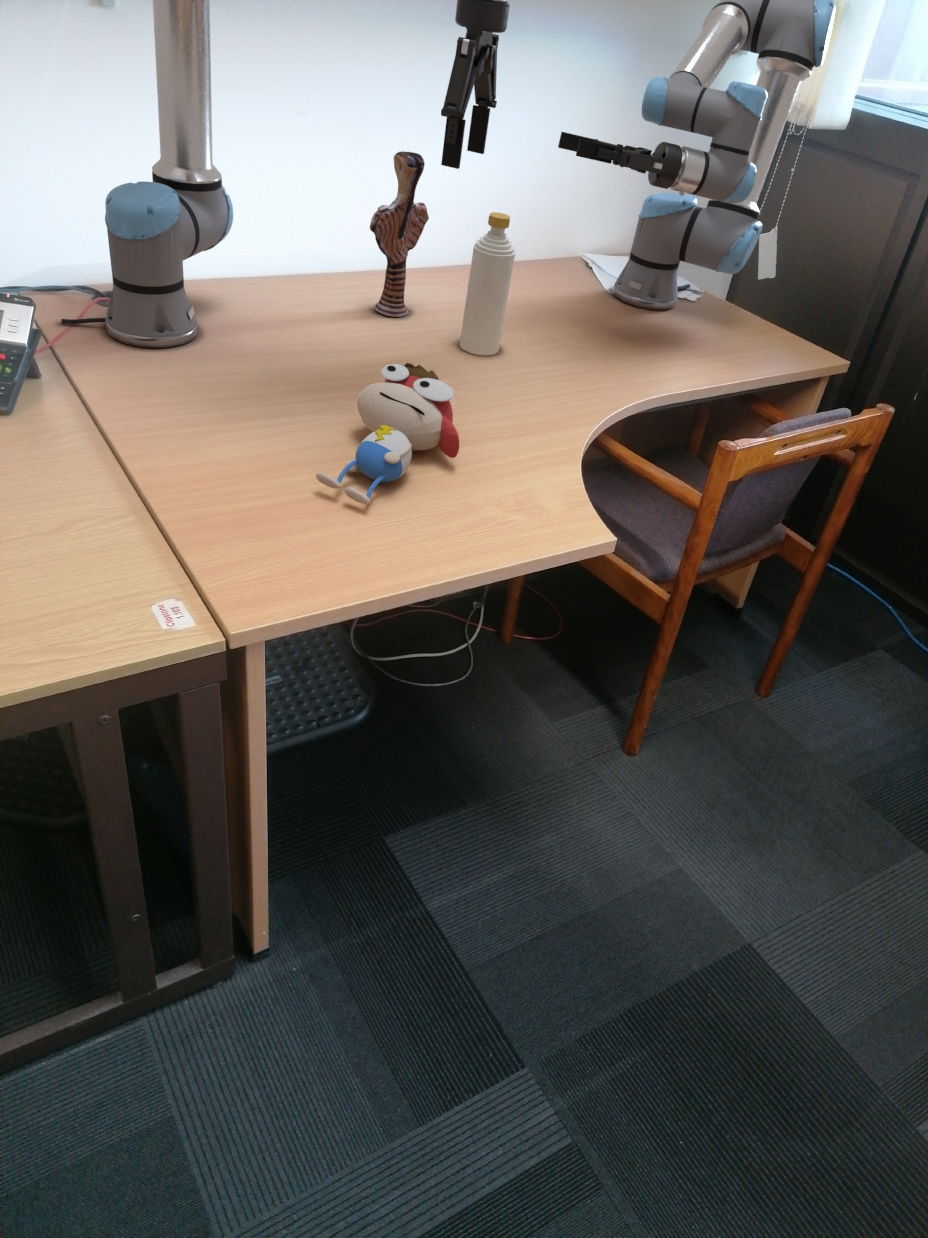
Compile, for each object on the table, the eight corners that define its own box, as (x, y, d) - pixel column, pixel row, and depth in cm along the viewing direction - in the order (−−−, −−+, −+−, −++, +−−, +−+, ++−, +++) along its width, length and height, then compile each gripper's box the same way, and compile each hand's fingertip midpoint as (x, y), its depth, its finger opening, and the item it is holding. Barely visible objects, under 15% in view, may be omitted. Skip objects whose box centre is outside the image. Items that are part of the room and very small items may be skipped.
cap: (511, 229, 159) (513, 219, 158) (491, 227, 158) (493, 217, 157) (504, 222, 162) (506, 212, 161) (485, 221, 160) (486, 211, 159)
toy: (278, 428, 121) (396, 343, 140) (277, 485, 128) (389, 398, 148) (391, 486, 117) (497, 391, 136) (384, 542, 124) (485, 444, 143)
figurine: (401, 297, 189) (416, 141, 170) (429, 309, 186) (448, 152, 167) (355, 312, 178) (365, 148, 160) (384, 324, 175) (398, 159, 157)
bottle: (503, 355, 172) (526, 225, 157) (466, 355, 170) (486, 223, 155) (491, 339, 178) (512, 212, 163) (454, 338, 175) (472, 209, 160)
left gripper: (485, 3, 116) (463, 178, 129) (530, -3, 135) (506, 151, 148) (431, -8, 117) (414, 167, 130) (483, -12, 136) (463, 141, 149)
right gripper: (691, 199, 159) (580, 174, 154) (647, 180, 180) (548, 157, 175) (706, 152, 155) (592, 126, 150) (659, 138, 176) (558, 114, 171)
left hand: (463, 159), depth 139 cm, fingers open, 13 cm apart
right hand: (568, 142), depth 162 cm, fingers open, 13 cm apart
